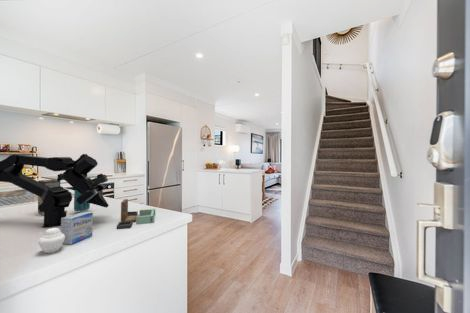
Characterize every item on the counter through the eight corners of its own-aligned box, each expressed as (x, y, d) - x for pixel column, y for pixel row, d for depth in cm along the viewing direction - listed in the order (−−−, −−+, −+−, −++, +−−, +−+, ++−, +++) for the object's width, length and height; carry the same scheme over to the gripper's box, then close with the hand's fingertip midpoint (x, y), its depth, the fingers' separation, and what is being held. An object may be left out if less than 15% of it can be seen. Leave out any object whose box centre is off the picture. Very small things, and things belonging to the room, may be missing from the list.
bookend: (120, 223, 87) (121, 202, 87) (123, 218, 94) (124, 199, 94) (148, 221, 91) (148, 201, 91) (149, 217, 98) (150, 198, 98)
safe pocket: (136, 224, 87) (136, 217, 87) (139, 216, 99) (139, 209, 99) (153, 222, 89) (153, 215, 89) (155, 215, 101) (155, 208, 101)
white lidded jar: (56, 245, 66) (56, 223, 66) (69, 248, 64) (70, 225, 64) (32, 253, 60) (32, 230, 60) (46, 257, 58) (47, 232, 58)
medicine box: (71, 245, 66) (71, 218, 66) (60, 243, 67) (60, 217, 67) (92, 236, 74) (93, 212, 74) (82, 234, 75) (83, 211, 75)
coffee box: (36, 213, 100) (37, 180, 100) (53, 210, 105) (54, 179, 105) (43, 216, 95) (43, 181, 95) (60, 213, 101) (61, 180, 100)
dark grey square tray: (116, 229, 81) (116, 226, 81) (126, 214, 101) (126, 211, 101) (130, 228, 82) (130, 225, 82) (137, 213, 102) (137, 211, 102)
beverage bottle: (83, 214, 99) (84, 173, 99) (69, 214, 99) (70, 173, 99) (92, 210, 106) (93, 172, 106) (80, 210, 106) (80, 172, 106)
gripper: (87, 169, 79) (118, 197, 82) (101, 166, 96) (126, 189, 100) (61, 190, 76) (94, 218, 80) (80, 183, 94) (107, 206, 97)
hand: (107, 206), depth 89 cm, fingers closed
